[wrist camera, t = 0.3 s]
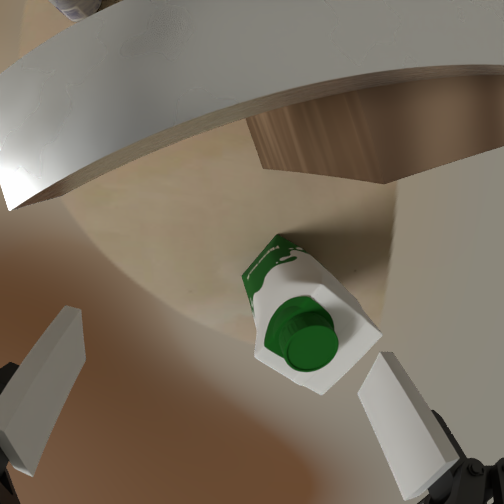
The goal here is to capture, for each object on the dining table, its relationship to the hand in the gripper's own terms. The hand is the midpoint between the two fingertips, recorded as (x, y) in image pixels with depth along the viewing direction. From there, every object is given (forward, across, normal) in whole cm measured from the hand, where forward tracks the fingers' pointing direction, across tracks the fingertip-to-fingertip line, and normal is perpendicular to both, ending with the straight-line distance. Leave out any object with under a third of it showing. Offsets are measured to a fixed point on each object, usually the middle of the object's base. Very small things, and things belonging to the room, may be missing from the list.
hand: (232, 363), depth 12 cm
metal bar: (0, +4, +14) cm, 15 cm away
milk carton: (+27, +8, -6) cm, 28 cm away
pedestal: (+28, +6, +14) cm, 32 cm away
